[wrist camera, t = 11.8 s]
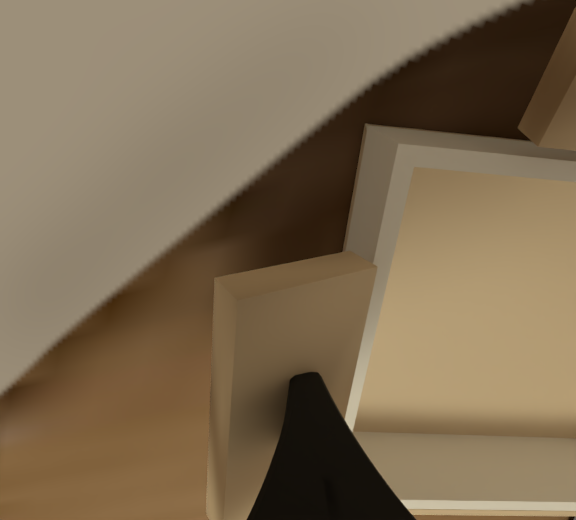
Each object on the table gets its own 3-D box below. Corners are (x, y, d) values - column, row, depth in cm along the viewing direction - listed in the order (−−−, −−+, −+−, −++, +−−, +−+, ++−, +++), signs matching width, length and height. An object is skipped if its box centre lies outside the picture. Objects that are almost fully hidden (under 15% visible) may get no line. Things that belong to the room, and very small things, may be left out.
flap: (221, 544, 11) (205, 512, 12) (331, 480, 13) (312, 457, 14) (237, 300, 8) (214, 277, 9) (377, 266, 10) (349, 250, 11)
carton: (589, 446, 20) (651, 518, 17) (309, 437, 19) (319, 515, 16) (749, 163, 14) (886, 192, 11) (364, 123, 13) (398, 143, 10)
